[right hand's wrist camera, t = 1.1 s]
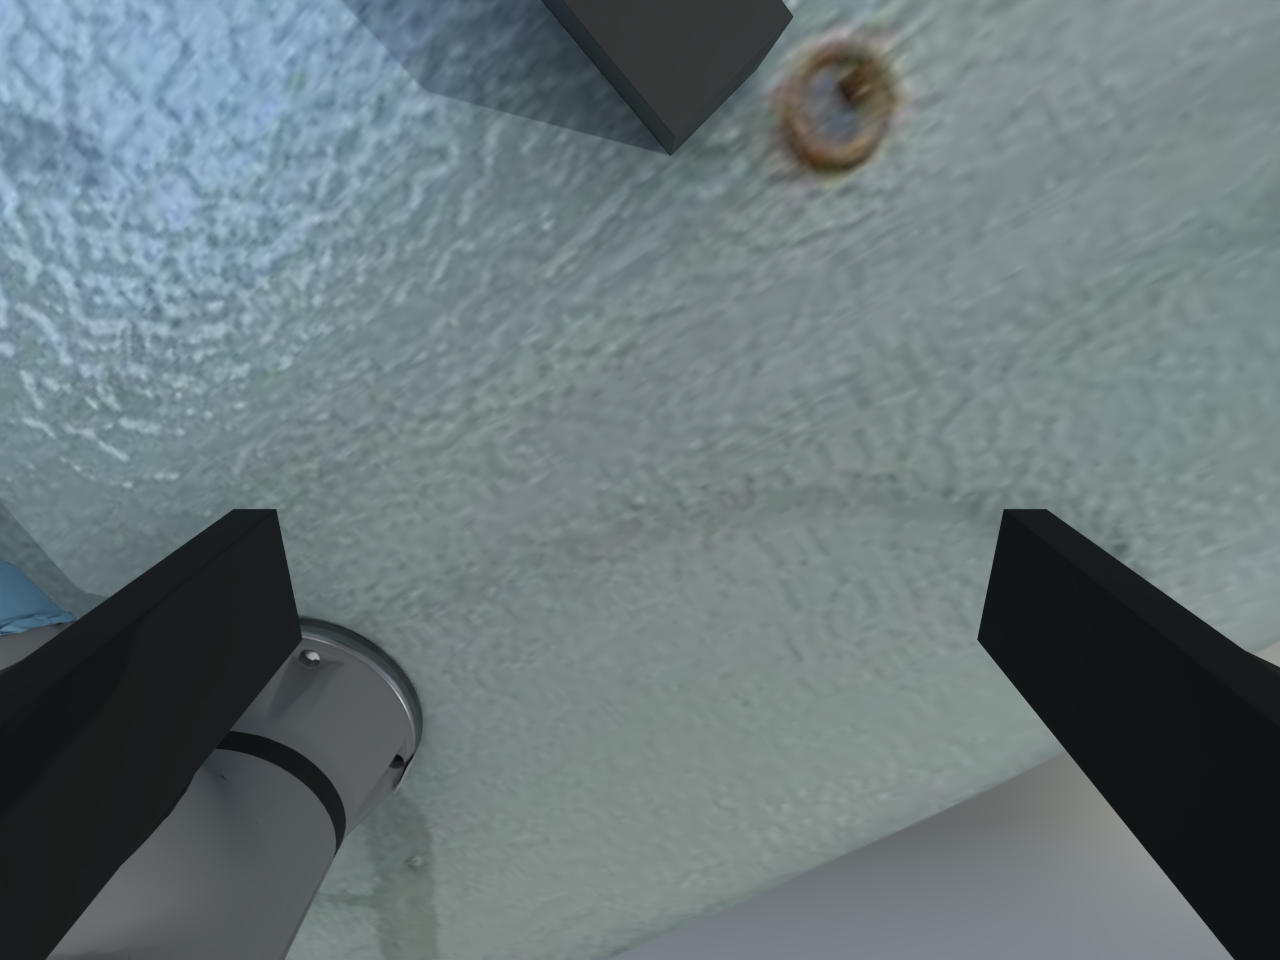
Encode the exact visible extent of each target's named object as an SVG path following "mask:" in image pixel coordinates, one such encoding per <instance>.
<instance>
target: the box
mask: <svg viewBox="0 0 1280 960" xmlns="http://www.w3.org/2000/svg"><path fill="white" fill-rule="evenodd" d="M541 1H542V2H543V3H544V4H545V5H546V7H547V8H548V9H549V10H550V11H551V13H552V14H553V15H554V16H555V17H556V19H557V20H558V21H559V22H560V23H561V25H562V26H563V27H564V28H565V29H566V31H567V32H568V33H569V34H570V35H571V37H572V38H573V39H574V40H575V41H576V43H577V44H578V45H579V46H580V48H581V49H582V50H583V51H584V52H585V54H586V55H587V56H588V57H589V58H590V60H591V61H592V62H593V63H594V64H595V66H596V67H597V68H598V69H599V70H600V72H601V73H602V74H603V75H604V76H605V78H606V79H607V80H608V81H609V82H610V84H611V85H612V86H613V87H614V89H615V90H616V91H617V92H618V93H619V95H620V96H621V97H622V98H623V99H624V101H625V102H626V103H627V104H628V105H629V107H630V108H631V109H632V110H633V111H634V113H635V114H636V115H637V116H638V117H639V119H640V120H641V121H642V122H643V123H644V125H645V126H646V127H647V128H648V130H649V131H650V132H651V133H652V134H653V136H654V137H655V138H656V139H657V140H658V142H659V143H660V144H661V145H662V146H663V148H664V149H665V150H666V151H667V152H668V154H669V155H670V156H671V155H672V154H673V153H674V152H675V151H676V150H677V149H678V148H679V147H680V146H681V145H682V144H683V143H684V142H685V141H686V140H687V139H688V138H689V137H690V136H691V135H692V134H693V133H694V132H695V131H696V130H697V129H698V128H699V127H700V126H701V125H702V124H703V123H704V122H705V121H706V120H707V119H708V118H709V117H710V116H711V115H712V114H713V113H714V112H715V111H716V110H717V109H718V107H719V106H720V105H721V104H722V103H723V102H724V101H725V100H726V99H727V98H728V97H729V96H730V95H731V94H732V93H733V92H734V91H735V90H736V89H737V88H738V87H739V86H740V85H741V84H742V83H743V82H744V81H745V80H746V79H747V78H748V77H749V76H750V75H751V74H752V73H753V72H754V71H755V70H756V69H757V68H758V67H759V65H760V64H761V62H762V61H763V60H764V58H765V57H766V55H767V54H768V52H769V51H770V50H771V48H772V47H773V45H774V44H775V42H776V41H777V40H778V38H779V37H780V35H781V34H782V32H783V31H784V30H785V28H786V27H787V25H788V24H789V22H790V21H791V20H792V18H793V15H792V14H791V13H790V11H789V10H788V8H787V7H786V6H785V4H784V3H783V2H782V0H541Z"/></svg>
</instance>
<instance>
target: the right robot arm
mask: <svg viewBox="0 0 1280 960" xmlns="http://www.w3.org/2000/svg"><path fill="white" fill-rule="evenodd" d="M76 620H77V619H76V618H75V617H74V615H73V614H72V613H71V612H66V611H63V610H62V609H61V608H60V607H59V606H57V605H56V604H55V603H54V602H53V601H52V600H51V599H50V598H49V597H48V596H47V595H46V594H45V593H44V592H43V591H42V590H41V589H40V588H39V587H38V586H36V585H35V584H34V583H33V582H32V581H31V580H30V579H29V578H28V577H27V576H26V575H25V574H24V573H23V572H22V571H21V570H20V569H19V568H18V567H16V566H15V565H13V564H11V563H10V562H8V561H5V560H3V559H0V960H284V959H285V957H286V955H287V953H288V951H289V949H290V947H291V945H292V943H293V941H294V939H295V937H296V935H297V933H298V931H299V928H300V926H301V924H302V922H303V920H304V918H305V916H306V914H307V912H308V910H309V908H310V906H311V904H312V902H313V900H314V898H315V896H316V894H317V892H318V890H319V888H320V886H321V884H322V882H323V880H324V878H325V876H326V874H327V872H328V870H329V868H330V866H331V863H332V861H333V859H334V857H335V855H336V853H337V851H338V849H339V847H340V845H341V844H342V842H343V840H344V838H345V837H346V836H347V835H348V834H349V833H350V832H351V831H352V830H353V829H354V828H355V827H356V826H357V825H358V824H359V823H360V822H361V821H362V820H363V819H364V818H365V817H366V816H367V815H368V814H369V813H370V812H371V811H372V810H373V809H374V808H375V807H376V806H377V805H378V804H379V803H380V802H381V801H382V800H383V799H384V798H385V797H386V796H387V795H388V794H389V793H390V792H391V791H392V790H393V789H394V788H395V787H397V785H398V784H399V783H400V784H399V786H398V788H397V790H398V789H399V787H400V786H401V784H402V783H403V781H404V779H405V777H406V775H407V773H408V771H409V769H410V766H411V764H412V762H413V760H414V758H415V756H416V754H415V753H416V751H417V748H418V746H419V743H420V739H421V734H422V713H421V708H420V704H419V701H418V697H417V695H416V693H415V690H414V688H413V686H412V685H411V683H410V681H409V679H408V678H407V677H406V675H405V674H404V672H403V671H402V670H401V669H400V667H399V666H398V665H397V664H396V663H395V662H394V661H393V660H392V659H391V658H390V657H389V656H388V655H387V654H386V653H384V652H383V651H382V650H381V649H379V648H378V647H377V646H375V645H374V644H372V643H371V642H369V641H368V640H366V639H364V638H362V637H361V636H359V635H357V634H355V633H352V632H350V631H348V630H345V629H343V628H340V627H337V626H334V625H331V624H327V623H323V622H318V621H312V620H303V619H298V614H297V609H296V604H295V599H294V594H293V589H292V585H291V580H290V575H289V570H288V565H287V560H286V555H285V550H284V545H283V540H282V535H281V531H280V526H279V521H278V516H277V511H276V509H233V510H232V511H231V512H229V513H228V514H226V515H225V516H223V517H222V518H221V519H219V520H218V521H216V522H215V523H214V524H212V525H211V526H209V527H208V528H207V529H205V530H204V531H202V532H201V533H200V534H198V535H197V536H195V537H194V538H193V539H191V540H190V541H188V542H187V543H186V544H184V545H183V546H181V547H180V548H179V549H177V550H176V551H174V552H173V553H172V554H170V555H169V556H167V557H166V558H165V559H163V560H162V561H160V562H159V563H157V564H156V565H155V566H153V567H152V568H150V569H149V570H148V571H146V572H145V573H143V574H142V575H141V576H139V577H138V578H136V579H135V580H134V581H132V582H131V583H129V584H128V585H127V586H125V587H124V588H122V589H121V590H120V591H118V592H117V593H115V594H114V595H113V596H111V597H110V598H108V599H107V600H106V601H104V602H103V603H101V604H100V605H99V606H97V607H96V608H94V609H93V610H91V611H90V612H89V613H87V614H86V615H84V616H83V617H82V618H80V619H79V620H77V621H76ZM75 621H76V622H75ZM74 622H75V623H74ZM977 640H978V641H979V642H980V644H981V645H982V646H983V647H984V649H985V650H986V651H987V652H988V654H989V655H990V656H991V657H992V659H993V660H994V661H995V662H996V664H997V665H998V666H999V667H1000V669H1001V670H1002V671H1003V672H1004V673H1005V675H1006V676H1007V677H1008V678H1009V680H1010V681H1011V682H1012V683H1013V685H1014V686H1015V687H1016V688H1017V690H1018V691H1019V692H1020V693H1021V695H1022V696H1023V697H1024V698H1025V700H1026V701H1027V702H1028V703H1029V705H1030V706H1031V707H1032V708H1033V710H1034V711H1035V712H1036V713H1037V715H1038V716H1039V717H1040V718H1041V720H1042V721H1043V722H1044V723H1045V725H1046V726H1047V727H1048V728H1049V729H1050V731H1051V732H1052V733H1053V734H1054V736H1055V737H1056V738H1057V739H1058V741H1059V742H1060V743H1061V744H1062V746H1063V747H1064V748H1065V749H1066V751H1067V752H1068V753H1069V754H1070V756H1071V757H1072V758H1073V759H1074V761H1075V762H1076V763H1077V764H1078V765H1079V767H1080V768H1081V769H1082V771H1083V772H1084V773H1085V774H1086V775H1087V777H1088V778H1089V779H1090V781H1091V782H1092V783H1093V784H1094V785H1095V787H1096V788H1097V789H1098V790H1099V792H1100V793H1101V794H1102V795H1103V797H1104V798H1105V799H1106V800H1107V802H1108V803H1109V804H1110V805H1111V807H1112V808H1113V809H1114V810H1115V812H1116V813H1117V814H1118V815H1119V817H1120V818H1121V819H1122V820H1123V822H1124V823H1125V824H1126V825H1127V826H1128V828H1129V829H1130V830H1131V832H1132V833H1133V834H1134V835H1135V836H1136V838H1137V839H1138V840H1139V842H1140V843H1141V844H1142V845H1143V846H1144V848H1145V849H1146V850H1147V851H1148V853H1149V854H1150V855H1151V856H1152V858H1153V859H1154V860H1155V861H1156V863H1157V864H1158V865H1159V866H1160V868H1161V869H1162V870H1163V871H1164V873H1165V874H1166V875H1167V876H1168V878H1169V879H1170V880H1171V881H1172V883H1173V884H1174V885H1175V886H1176V888H1177V889H1178V890H1179V891H1180V893H1181V894H1182V895H1183V896H1184V898H1185V899H1186V900H1187V901H1188V902H1189V904H1190V905H1191V906H1192V907H1193V909H1194V910H1195V911H1196V912H1197V914H1198V915H1199V916H1200V917H1201V919H1202V920H1203V921H1204V922H1205V924H1206V925H1207V926H1208V927H1209V929H1210V930H1211V931H1212V932H1213V934H1214V935H1215V936H1216V937H1217V939H1218V940H1219V941H1220V942H1221V944H1222V945H1223V946H1224V947H1225V948H1226V950H1227V951H1228V952H1229V954H1230V955H1231V956H1232V957H1233V958H1234V960H1280V667H1278V666H1276V665H1274V664H1272V663H1270V662H1268V661H1265V660H1263V659H1261V658H1259V657H1257V656H1255V655H1253V654H1251V653H1249V652H1246V651H1245V650H1243V649H1242V648H1240V647H1239V646H1238V645H1236V644H1235V643H1233V642H1232V641H1231V640H1229V639H1228V638H1226V637H1225V636H1224V635H1222V634H1221V633H1219V632H1218V631H1217V630H1215V629H1214V628H1212V627H1211V626H1210V625H1208V624H1207V623H1205V622H1204V621H1203V620H1201V619H1200V618H1198V617H1197V616H1196V615H1194V614H1193V613H1191V612H1190V611H1189V610H1187V609H1186V608H1184V607H1183V606H1181V605H1180V604H1179V603H1177V602H1176V601H1174V600H1173V599H1172V598H1170V597H1169V596H1167V595H1166V594H1165V593H1163V592H1162V591H1160V590H1159V589H1158V588H1156V587H1155V586H1153V585H1152V584H1151V583H1149V582H1148V581H1146V580H1145V579H1144V578H1142V577H1141V576H1139V575H1138V574H1137V573H1135V572H1134V571H1132V570H1131V569H1130V568H1128V567H1127V566H1125V565H1124V564H1123V563H1121V562H1120V561H1118V560H1117V559H1115V558H1114V557H1113V556H1111V555H1110V554H1108V553H1107V552H1106V551H1104V550H1103V549H1101V548H1100V547H1099V546H1097V545H1096V544H1094V543H1093V542H1092V541H1090V540H1089V539H1087V538H1086V537H1085V536H1083V535H1082V534H1080V533H1079V532H1078V531H1076V530H1075V529H1073V528H1072V527H1071V526H1069V525H1068V524H1066V523H1065V522H1064V521H1062V520H1061V519H1059V518H1058V517H1057V516H1055V515H1054V514H1052V513H1051V512H1049V511H1048V510H1047V509H1004V511H1003V516H1002V521H1001V526H1000V531H999V535H998V540H997V545H996V550H995V555H994V560H993V565H992V570H991V575H990V580H989V585H988V589H987V594H986V599H985V604H984V609H983V614H982V619H981V624H980V629H979V634H978V639H977ZM414 755H415V756H414ZM397 790H396V792H397ZM396 792H395V793H396Z"/></svg>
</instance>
